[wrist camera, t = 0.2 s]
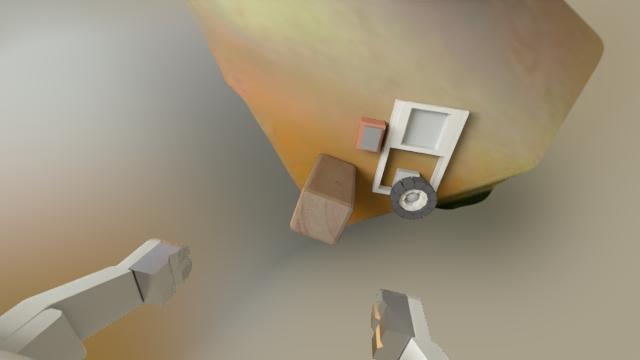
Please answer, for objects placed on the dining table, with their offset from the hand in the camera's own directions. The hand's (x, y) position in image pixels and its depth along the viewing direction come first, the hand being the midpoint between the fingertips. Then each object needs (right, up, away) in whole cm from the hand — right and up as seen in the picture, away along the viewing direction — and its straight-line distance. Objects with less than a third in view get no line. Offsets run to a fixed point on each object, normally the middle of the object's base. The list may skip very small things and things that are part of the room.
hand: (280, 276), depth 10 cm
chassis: (+24, +11, +44) cm, 51 cm away
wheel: (+21, +1, +40) cm, 46 cm away
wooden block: (+5, +5, +50) cm, 51 cm away
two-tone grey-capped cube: (+13, +15, +44) cm, 48 cm away
